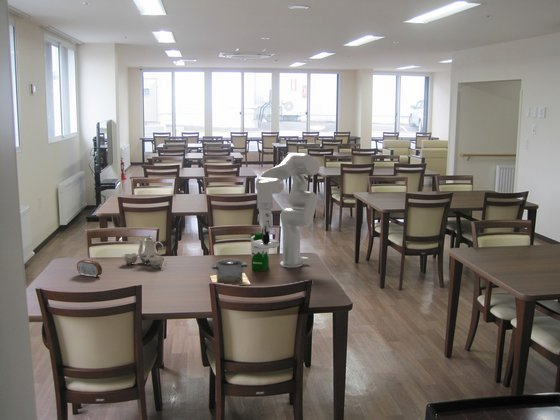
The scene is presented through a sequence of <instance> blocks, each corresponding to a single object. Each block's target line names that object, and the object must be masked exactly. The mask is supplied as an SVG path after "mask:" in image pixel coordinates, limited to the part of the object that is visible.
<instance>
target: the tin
mask: <svg viewBox="0 0 560 420" xmlns="http://www.w3.org/2000/svg"><path fill="white" fill-rule="evenodd" d="M76 269H77V272H78V274H80V273H84V274H89V275H96V276H98V275H100V276H101V275H102V273H103V267H102V266H101V264H100V263H99V262H98V261H96V260H88V259H81V260H80V261H78V262H77V264H76ZM98 277H99V276H98Z"/></svg>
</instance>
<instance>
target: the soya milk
mask: <svg viewBox="0 0 560 420" xmlns="http://www.w3.org/2000/svg"><path fill="white" fill-rule="evenodd" d="M261 233H262V232H255V233H254V235H252V236H251V237H250V249H251V251H250V253H251V257H250V258H251V270H252V271H258V272H266V270H267V269H269V268H270V267H269V266H270V263H269V261H270V260H269V258H270V257H269V256H270V253H269V250H270V248H269V249H260V248H255V247H252V242H253V241H256V240H262V238H261Z"/></svg>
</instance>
